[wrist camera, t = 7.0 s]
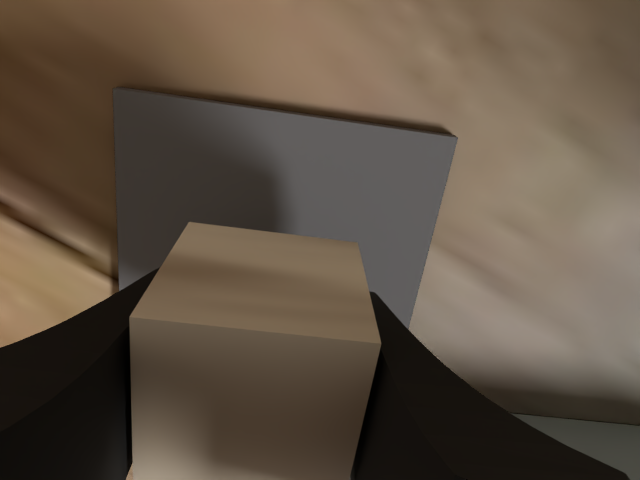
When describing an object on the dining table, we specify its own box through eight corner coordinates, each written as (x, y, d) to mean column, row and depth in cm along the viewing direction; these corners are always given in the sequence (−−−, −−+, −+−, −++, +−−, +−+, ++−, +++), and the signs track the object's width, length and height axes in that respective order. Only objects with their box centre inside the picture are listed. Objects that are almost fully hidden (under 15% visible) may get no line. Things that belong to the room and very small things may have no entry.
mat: (388, 390, 16) (390, 398, 16) (125, 364, 16) (121, 372, 15) (454, 134, 13) (457, 137, 13) (118, 86, 12) (112, 88, 12)
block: (332, 374, 13) (341, 510, 9) (184, 360, 13) (132, 494, 9) (357, 242, 11) (381, 343, 8) (188, 221, 11) (129, 317, 7)
